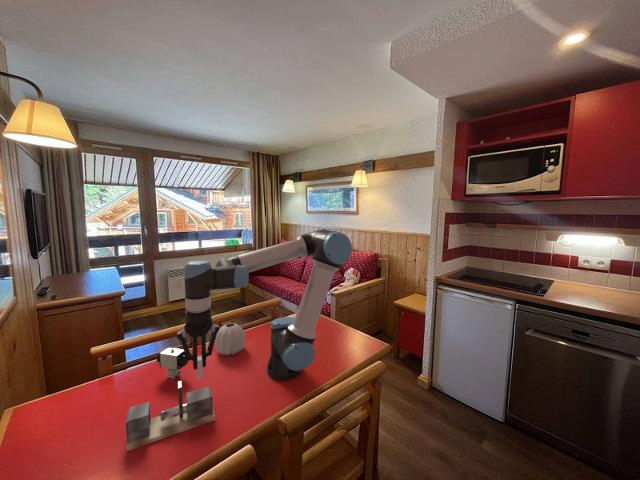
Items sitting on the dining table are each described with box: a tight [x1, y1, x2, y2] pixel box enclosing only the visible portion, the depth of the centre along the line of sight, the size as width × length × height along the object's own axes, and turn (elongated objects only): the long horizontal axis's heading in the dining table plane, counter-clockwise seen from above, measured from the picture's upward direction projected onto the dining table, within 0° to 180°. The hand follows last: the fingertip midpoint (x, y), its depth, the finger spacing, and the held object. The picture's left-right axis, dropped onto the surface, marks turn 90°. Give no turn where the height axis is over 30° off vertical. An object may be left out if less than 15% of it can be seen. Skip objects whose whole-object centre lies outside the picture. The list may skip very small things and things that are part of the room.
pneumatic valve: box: [156, 347, 189, 380], centre depth 110 cm, size 6×12×12 cm, turn 78°
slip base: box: [125, 385, 216, 452], centre depth 86 cm, size 24×9×8 cm, turn 120°
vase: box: [214, 322, 246, 356], centre depth 130 cm, size 14×14×13 cm
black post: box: [159, 380, 188, 421], centre depth 87 cm, size 14×5×11 cm, turn 120°
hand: (199, 376), depth 89 cm, fingers closed
